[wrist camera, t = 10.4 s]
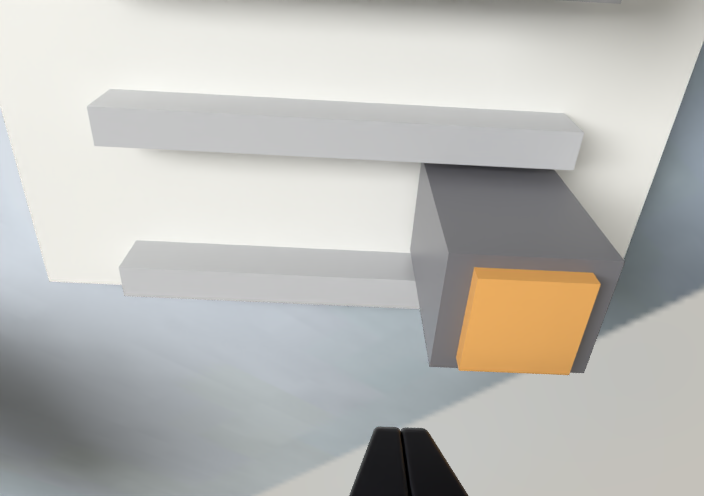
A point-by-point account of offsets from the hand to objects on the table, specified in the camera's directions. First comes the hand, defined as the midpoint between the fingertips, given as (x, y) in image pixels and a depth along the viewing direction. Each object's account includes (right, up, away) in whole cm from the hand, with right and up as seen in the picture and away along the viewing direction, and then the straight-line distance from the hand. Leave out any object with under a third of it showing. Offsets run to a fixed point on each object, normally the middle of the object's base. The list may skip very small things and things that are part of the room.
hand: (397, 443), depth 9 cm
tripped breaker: (+3, +4, +7) cm, 9 cm away
